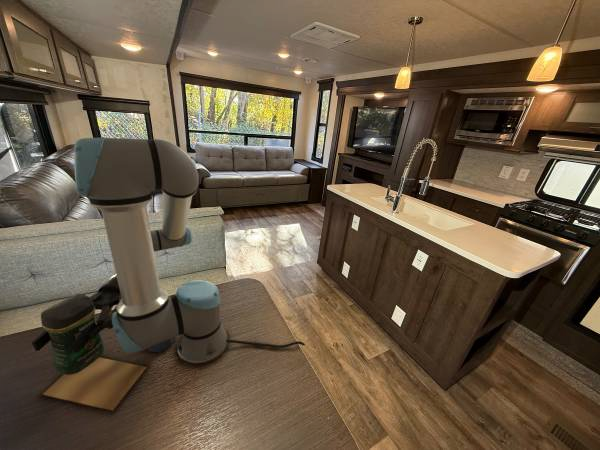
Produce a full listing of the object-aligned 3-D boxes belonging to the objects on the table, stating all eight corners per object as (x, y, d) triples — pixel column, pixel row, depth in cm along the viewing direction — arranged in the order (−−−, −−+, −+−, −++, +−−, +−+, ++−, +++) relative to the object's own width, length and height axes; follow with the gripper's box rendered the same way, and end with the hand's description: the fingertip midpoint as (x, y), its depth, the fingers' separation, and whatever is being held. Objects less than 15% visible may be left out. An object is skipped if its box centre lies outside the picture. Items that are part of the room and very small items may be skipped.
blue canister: (178, 335, 85) (174, 310, 80) (163, 354, 78) (159, 327, 73) (157, 331, 85) (152, 306, 81) (141, 349, 78) (135, 323, 74)
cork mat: (146, 367, 73) (146, 367, 73) (113, 411, 62) (112, 410, 62) (85, 355, 75) (85, 354, 75) (42, 395, 64) (42, 394, 64)
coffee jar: (74, 380, 61) (55, 320, 54) (50, 370, 62) (28, 311, 56) (111, 349, 69) (99, 295, 63) (89, 342, 71) (75, 288, 65)
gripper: (154, 298, 80) (104, 360, 59) (88, 294, 79) (13, 356, 58) (151, 278, 77) (97, 338, 56) (82, 274, 76) (1, 333, 55)
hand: (54, 347), depth 57 cm, fingers closed on coffee jar, 8 cm apart
